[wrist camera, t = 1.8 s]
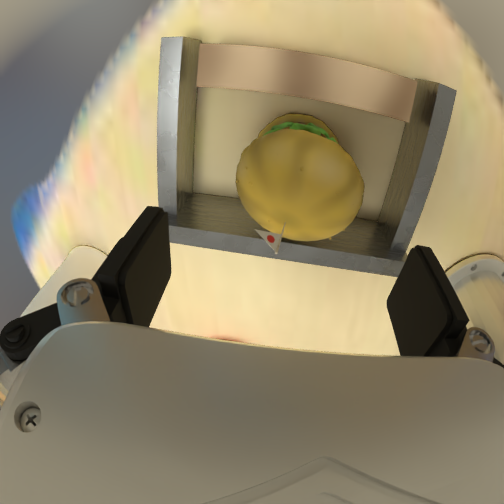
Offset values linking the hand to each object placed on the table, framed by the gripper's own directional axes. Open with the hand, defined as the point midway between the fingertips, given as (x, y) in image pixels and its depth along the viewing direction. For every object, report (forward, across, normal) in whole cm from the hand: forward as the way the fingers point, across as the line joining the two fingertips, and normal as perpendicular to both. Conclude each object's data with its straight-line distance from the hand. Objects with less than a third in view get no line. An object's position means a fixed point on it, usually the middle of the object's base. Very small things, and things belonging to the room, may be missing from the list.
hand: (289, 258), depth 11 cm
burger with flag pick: (+16, -1, 0) cm, 16 cm away
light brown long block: (+16, -1, -6) cm, 17 cm away
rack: (+15, -1, 0) cm, 15 cm away
